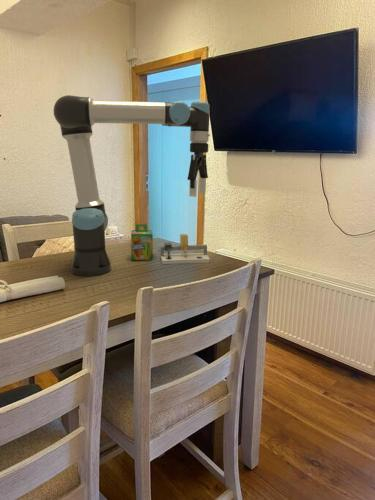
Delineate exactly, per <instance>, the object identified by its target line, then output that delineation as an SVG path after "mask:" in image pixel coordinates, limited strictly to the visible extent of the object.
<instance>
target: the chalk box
mask: <svg viewBox="0 0 375 500" xmlns="http://www.w3.org/2000/svg"><path fill="white" fill-rule="evenodd" d="M140 227H143V229H140ZM130 232H131V236H130V244H131V246H130V248H131V261H152V260H153V257H154V256H153V255H154V253H153V248H154V247H153V241H154V240H153V239H154V236H153V235H154V234H153V231H152V230H150V229H148V225H147V223H137V224H135V229H134V230H131V231H130Z"/></svg>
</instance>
